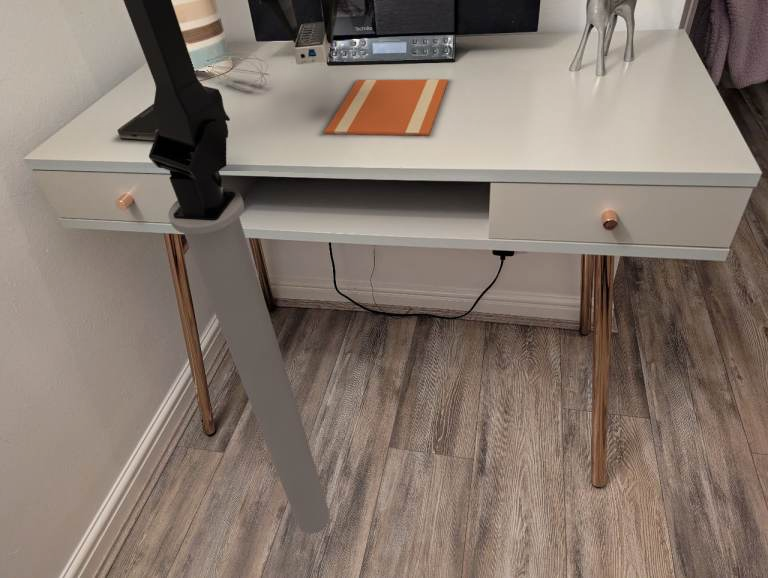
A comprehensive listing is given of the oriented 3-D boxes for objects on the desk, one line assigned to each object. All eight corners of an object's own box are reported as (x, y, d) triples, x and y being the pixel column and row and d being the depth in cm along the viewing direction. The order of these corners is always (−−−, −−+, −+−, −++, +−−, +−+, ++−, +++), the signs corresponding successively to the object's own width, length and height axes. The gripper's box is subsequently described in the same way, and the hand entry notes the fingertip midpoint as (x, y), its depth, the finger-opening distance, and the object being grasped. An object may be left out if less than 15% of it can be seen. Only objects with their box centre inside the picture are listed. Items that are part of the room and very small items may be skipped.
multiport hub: (332, 36, 90) (329, 20, 89) (326, 61, 82) (323, 45, 81) (304, 39, 91) (301, 23, 89) (296, 64, 82) (292, 48, 81)
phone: (204, 95, 101) (154, 134, 90) (206, 101, 101) (157, 141, 91) (166, 93, 103) (113, 131, 92) (168, 99, 104) (116, 138, 93)
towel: (428, 135, 84) (428, 132, 84) (325, 133, 88) (324, 131, 87) (447, 81, 99) (447, 79, 98) (358, 82, 102) (357, 79, 102)
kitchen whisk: (173, 58, 121) (163, 27, 117) (280, 88, 104) (273, 52, 100) (148, 68, 118) (136, 36, 114) (255, 101, 100) (246, 64, 96)
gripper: (375, -97, 79) (386, 23, 89) (250, -86, 83) (274, 27, 93) (356, -81, 71) (370, 49, 81) (218, -70, 75) (248, 52, 85)
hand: (314, 43), depth 86 cm, fingers closed on multiport hub, 5 cm apart
